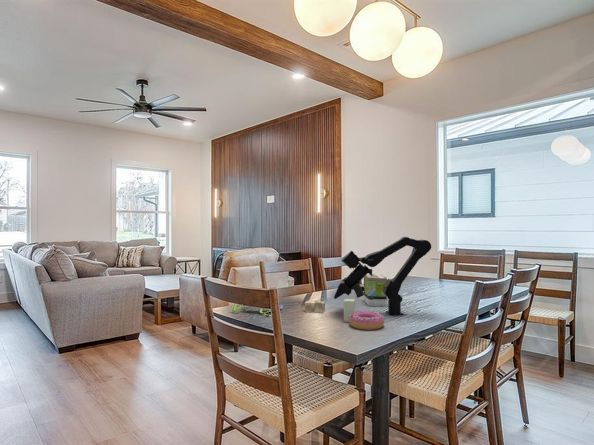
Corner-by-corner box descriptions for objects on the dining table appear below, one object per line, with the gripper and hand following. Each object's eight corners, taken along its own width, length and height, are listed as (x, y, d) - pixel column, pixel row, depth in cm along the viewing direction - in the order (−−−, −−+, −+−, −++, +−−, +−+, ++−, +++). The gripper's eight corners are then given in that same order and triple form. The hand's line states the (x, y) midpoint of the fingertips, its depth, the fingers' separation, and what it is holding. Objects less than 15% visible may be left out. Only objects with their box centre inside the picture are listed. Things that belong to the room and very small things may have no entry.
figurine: (247, 305, 198) (247, 294, 199) (291, 310, 186) (291, 299, 186) (225, 312, 182) (225, 301, 182) (272, 319, 170) (272, 306, 170)
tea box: (387, 306, 193) (387, 277, 194) (367, 306, 194) (367, 277, 194) (381, 300, 209) (381, 273, 209) (363, 300, 209) (363, 273, 209)
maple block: (324, 301, 184) (306, 300, 186) (323, 303, 180) (305, 302, 182) (324, 310, 184) (306, 309, 186) (323, 312, 180) (305, 311, 182)
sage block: (354, 319, 167) (354, 299, 167) (354, 322, 162) (354, 301, 162) (344, 319, 168) (344, 298, 168) (343, 321, 163) (343, 300, 163)
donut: (390, 326, 157) (390, 314, 157) (371, 333, 147) (371, 320, 147) (362, 320, 167) (362, 308, 167) (342, 326, 157) (342, 314, 157)
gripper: (369, 291, 168) (344, 315, 170) (370, 284, 186) (348, 306, 189) (350, 273, 170) (327, 297, 172) (353, 268, 188) (332, 290, 190)
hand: (334, 298), depth 181 cm, fingers closed
